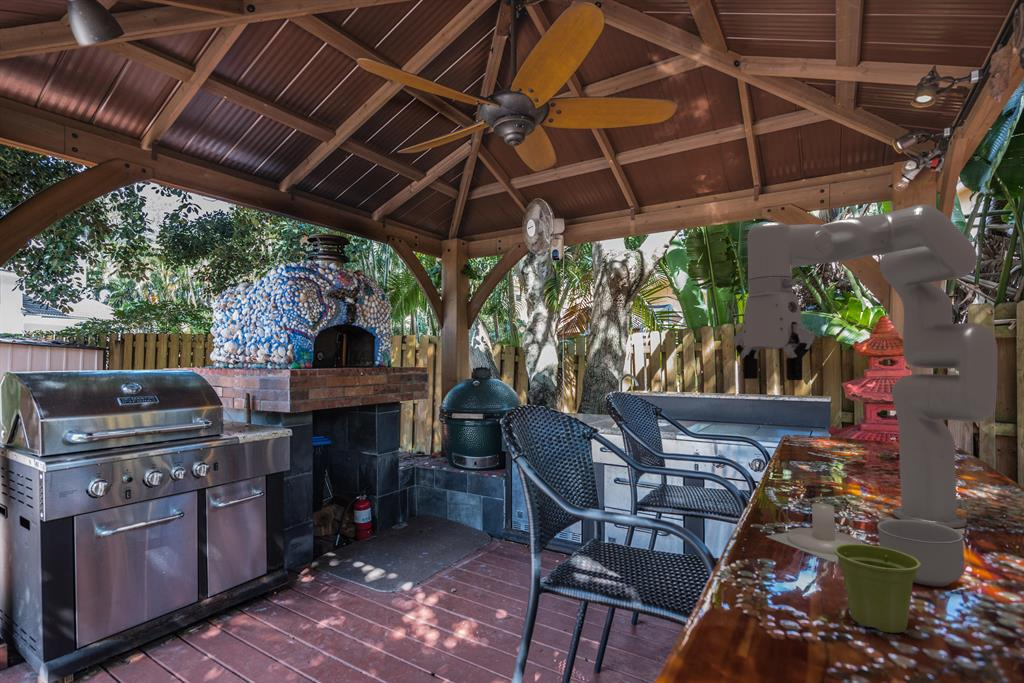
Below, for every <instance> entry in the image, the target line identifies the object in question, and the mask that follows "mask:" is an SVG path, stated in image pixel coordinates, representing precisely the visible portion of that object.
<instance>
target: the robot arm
mask: <svg viewBox="0 0 1024 683" xmlns="http://www.w3.org/2000/svg"><path fill="white" fill-rule="evenodd" d="M878 255H879V256H881V255H883V256H882V257H881V259H880V261H879V269H880V273H881V274H882V277H883V278H884V280H885V281H886V282H887V283H888V284H889V285H890V286H891V287H892V289H893V290H894V291H895V293H897V295H898V297H899V299H900V300H901V302H902V307H903V325H902V326H903V327H902V328H903V329H902V330H903V331H902V355H903V360H904V362H906V364H908V365H909V366H912V367H915V368H920V369H922V368H923V369H957V370H958V374H942V373H941V374H936V373H935V374H934V373H932V374H931V373H917V374H915V373H913V374H908V375H905V376H902V377H900V378H899V379H897V380H896V382H894V383H893V385H892V390H891V397H892V398H891V400H892V402H893V406H894V410H895V415H896V419H897V426H898V427H897V428H898V444H899V445H898V447H899V449H898V450H899V452H898V454H899V476H900V478H899V480H900V481H899V482H900V502H901V503H900V506H896V507H893V509H892V515H894V517H895V518H898V519H899V520H917V521H925V522H930V523H935V524H940V525H943V526H947V527H950V528H952V529H956V528H964V527H966V526H967V524H968V520H967V518H966V517H964V516H962V515H960V514H958V510H959V509H963V508H965V507H966V505H967V503H966V501H965V500H963V499H961V498H958V499H957V481H956V479H957V477H956V454H955V453H956V451H955V450H956V448H955V444H956V443H955V439H954V436H953V434H952V431H950V429H949V428H948V426H947V425H946V424H945V423H944V421H943V420H947V421H956V422H957V421H958V422H973V423H975V422H976V423H977V422H985V421H986V420H989V419H990V417H991V416H993V414H994V412H995V409H996V406H997V396H998V395H997V393H998V392H997V391H998V390H997V389H998V388H997V387H998V362H999V360H998V356H999V354H998V353H999V352H998V344H997V343H998V342H997V339H996V337H995V335H994V333H993V332H992V331H991V329H990V328H989V327H988V326H986V325H984V324H980V323H978V322H977V323H975V322H965V323H964V322H963V323H962V322H961V323H960V322H959V323H954V322H953V302H952V300H951V298H950V297H949V295H948V294H947V293H946V291H945V290H943V289H942V288H941V287H940V286H939V285H938V284H937V283H935V282H943V281H952V280H957V279H960V278H964V277H966V276H969V274H971V273H972V272H973V271H974V270H975V268H976V266H977V263H978V255H977V251H976V248H975V247H974V245H973V243H972V242H971V241H970V240H969V238H968V237H967V236H966V235H965V234H964V233H963V231H961V230H960V229H959V227H957V225H956V224H955V223H953V221H952V220H950V218H949V217H948V216H946V214H944V212H942V211H940V210H939V209H938V208H936V207H934V206H933V205H929V204H916V205H913V206H910V207H909V206H908V207H904V208H901V209H897V210H893V211H889V212H886V213H885V212H884V213H879V214H871V215H866V216H865V215H864V216H857V217H848V218H843V219H839V220H834V221H831V222H827V223H824V224H820V225H819V224H814V223H807V224H806V223H805V224H787V223H784V222H779V221H772V222H764V223H760V224H756V225H753V226H752V227H751V228H750V229H749V230H748V232H747V267H748V268H747V275H748V276H747V278H748V279H747V285H748V286H747V287H748V295H747V296H748V297H747V298H746V301H745V306H744V312H743V324H742V325H743V327H742V330H741V331H740V332H738V333H737V334H735V335H734V336H733V337H732V341H733V343H734V345H735V349H736V351H737V352H738V354H739V357H740V358H741V359H742V361H743V362H742V363H743V364H742V365H743V373H742V374H743V379H745V380H754V379H755V380H757V379H758V378H759V364H758V362H759V361H758V358H755V357H756V356H757V354H758V353H759V352H760V350H761V349H765V350H771V349H773V350H774V349H775V350H776V349H778V350H779V349H783V350H784V351H785V352H786V354H787V355H788V356H789V357H787V358H786V360H785V361H786V380H787V381H802V380H803V359H805V358H806V356H807V353H808V352H809V351H810V350H811V348H812V344H813V342H814V340H815V337H816V333H815V332H814V331H811V330H809V329H808V328H806V327H804V326H803V317H802V312H801V311H802V310H801V306H800V302H799V298H798V295H797V294H796V293H793V292H794V291H793V288H795V287H796V286H797V285H798V284H797V283H798V282H797V280H796V279H795V278H794V279H793V269H794V268H799V267H805V266H812V265H820V264H821V265H822V264H832V263H833V264H834V263H840V262H845V261H851V260H857V259H862V258H868V257H873V256H878Z"/></svg>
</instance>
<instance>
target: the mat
mask: <svg viewBox="0 0 1024 683" xmlns="http://www.w3.org/2000/svg"><path fill="white" fill-rule="evenodd" d="M765 538H768V539H770V540H773V541H776V542H778V543H781V544H784V545H786V546H789V547H791V548H795V549H797V550H800V551H803V552H805V553H808V554H811V555H813V556H816V557H818V558H821V559H824V560H826V561H828V562H831V563H835V562H839V560H838V556H836V555H833V554H825V553H819V552H815V551H811V550H807V549H804V548H801V547H798V546H796V545H794V544H792V543H791V542H790V541H789V540H788V532H783V533H777V534H771V535H770V534H769V535H765ZM862 544H863V545H869V543H868V544H867V543H864V542H862Z"/></svg>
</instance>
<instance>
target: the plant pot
mask: <svg viewBox="0 0 1024 683" xmlns="http://www.w3.org/2000/svg"><path fill="white" fill-rule="evenodd" d="M834 553H835V555H836V556H838V560H839V561H838V563H839V566H840V567H841V569H842V570H841V571H842V575H843V577H842V578H843V581H844V586H845V592H846V597H847V604H848V609H849V616H850V617H851V619H852V620H853V621H854V622H856V623H857V622H858V623H857V624H859V625H861V626H863V625H864V627H865V626H867V627H866V628H876V629H877V630H879V631H880V632H884V633H888V632H890V633H892V634H893V633H894V634H895V633H897V634H898V633H903V632H905V631H906V629H907V627H908V623H909V622H908V621H909V615H910V606H911V599H912V592H913V591H912V590H913V585H914V582H913V580H914V579H915V577H916V572H917V570H918V569H919V568H920V566H921V564H920V562H919V561H918V560H917V559H916V558H914V557H912V556H910V555H908V554H905V553H902V552H899V551H896V550H893V549H888V548H884V547H880V545H879V546H877V545H870V544H868V545H863V544H843V545H839V546H836V547H835V548H834Z"/></svg>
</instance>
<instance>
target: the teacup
mask: <svg viewBox="0 0 1024 683" xmlns="http://www.w3.org/2000/svg"><path fill="white" fill-rule="evenodd" d="M876 525H877V526H876V529H877V531H878V544H879V547H884V548H888V549H893V550H896V551H899V552H902V553H905V554H908V555H910V556H912V557H914V558H916V559H917V560H918V561H919V562H920V564H921V566H920V568H919V569H918V570H917V572H916V577H915V579H914V580H913V584H915V583H916V584H919V585H923V586H924V585H925V586H928V587H929V586H930V587H947V586H949V585H951V583H954V582H956V581H958V580H960V579H961V577H962V576H963V573H964V570H965V553H964V539H965V538H964V535H963V533H962V532H960V530H956V528H950V527H947V526H943V525H940V524H935V523H930V522H925V521H917V520H902V519H895V518H892V517H889V516H888V517H887V516H884V517H881V518H879V520H878V523H877V524H876Z"/></svg>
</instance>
